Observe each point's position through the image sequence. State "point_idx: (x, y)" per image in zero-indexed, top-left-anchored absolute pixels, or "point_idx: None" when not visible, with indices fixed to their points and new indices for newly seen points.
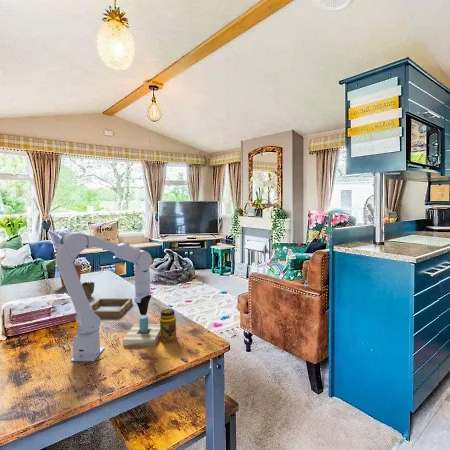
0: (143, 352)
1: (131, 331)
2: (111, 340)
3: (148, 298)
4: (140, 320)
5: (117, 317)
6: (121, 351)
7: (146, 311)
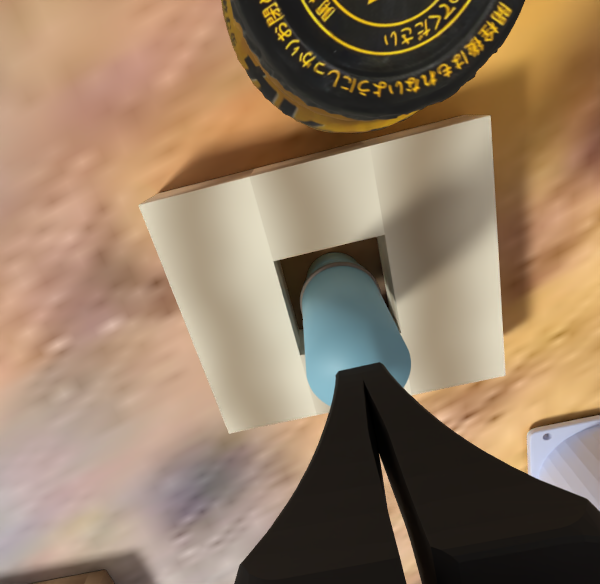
0: (578, 155)
1: None
2: None
3: (519, 568)
4: (405, 372)
5: (110, 580)
6: (562, 316)
7: (391, 381)
